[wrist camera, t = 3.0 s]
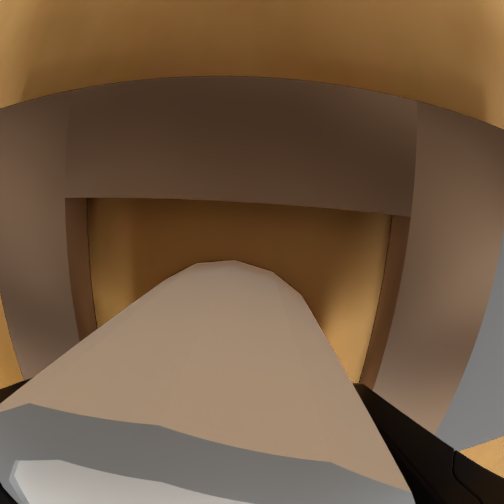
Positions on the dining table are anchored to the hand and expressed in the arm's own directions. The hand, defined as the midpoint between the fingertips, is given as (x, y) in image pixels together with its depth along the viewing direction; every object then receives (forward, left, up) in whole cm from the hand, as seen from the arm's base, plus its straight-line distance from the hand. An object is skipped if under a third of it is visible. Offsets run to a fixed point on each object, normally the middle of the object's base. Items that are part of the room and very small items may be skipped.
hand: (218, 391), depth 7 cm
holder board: (0, 0, -2) cm, 2 cm away
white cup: (0, 0, -2) cm, 2 cm away
